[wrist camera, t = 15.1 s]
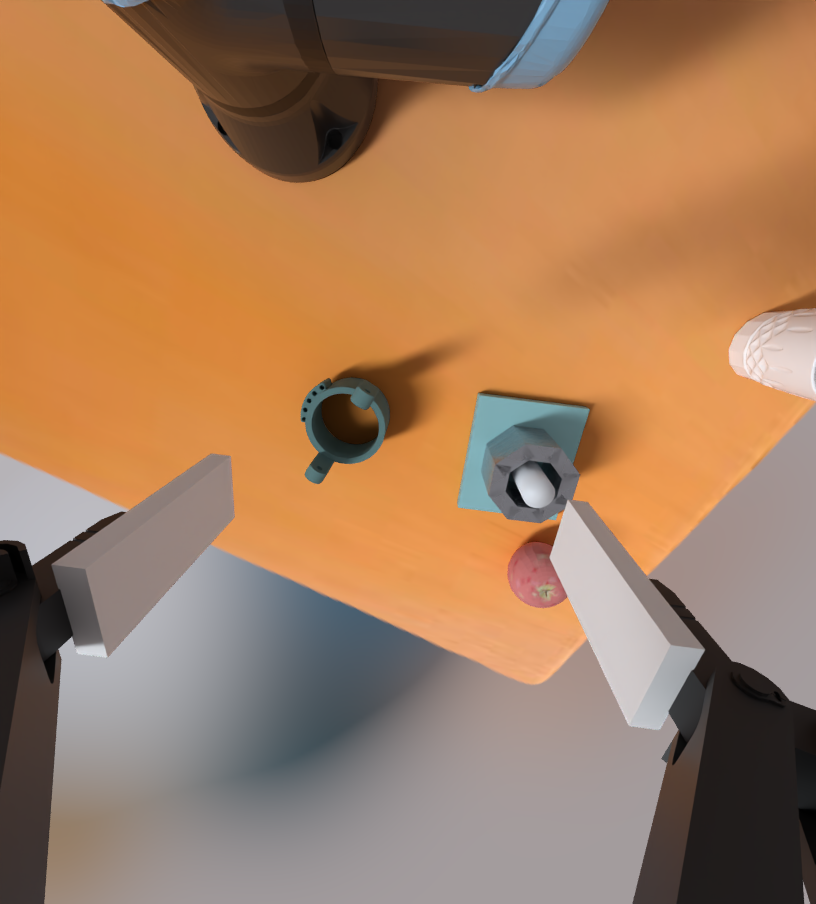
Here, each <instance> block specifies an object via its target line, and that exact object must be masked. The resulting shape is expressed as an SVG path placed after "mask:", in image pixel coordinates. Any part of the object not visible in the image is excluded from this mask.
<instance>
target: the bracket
mask: <svg viewBox="0 0 816 904" xmlns="http://www.w3.org/2000/svg"><path fill="white" fill-rule="evenodd" d="M341 393H344V394H351V395H352V396H351V402H352V403H354V404H355V405H356V406H358V407H359V408H361V409H364V410H366V409H368V408H369V407H370V406H371V407H372V409H373V410H374V412H375V414H376V416H377V418H378V423H379V434H378V437H376V438H375V439H374V440H372V441H370V442H368V443H364V444H349V443H346V442H343V441H341V440H339V439H337V438H336V437H335V436H333V435H332V434H331V433H330V432H329V430H328V429H327V427H326V426H325V424H324V421H323V418H322V410H321V409H322V403H323V400H324V399H325V398H327V397H329V396H331V395H334V394H341ZM389 420H390V409H389V405H388V402H387V399H386V398H385V396H384V394H383V393H382V392H381V390H380V389H379V388H378V387H376V386H375V385H373V384H372V383H370V382H368V381H367V380H365V379H360V378H353V377H351V378H344V379H340V380H338V381H336V382H334V383H332V382H331V379H330V378H328V379H326V380H324V381H322V382H321V383H320V384H318V385H317V386H316V387H314V388H313V389H312V390H311V391H310V392H309V393H308V395H307V396H306V398H305V400H304V402H303V405H302V409H301V421H302V422H305V425H306V431H307V435H308V437H309V439H310V442H311V443H312V445H313V446H314V447H315V449H316V450H317V451H318V452H319V453H318V454H317V456H316V457H315V458H314V460H313V461H312V462H311V464H310V465H309V467H308V469H307V470H306V472H305V477H306V478H307V479H308V480H309V481H311V482H313V483H316V484H320V483H321V482H322V481H323V480H324V478H325V476H326V475H327V473H328V472H329V470H330V468H331V466H332V465H333V463H334V461H335V462H338V463H344V464H354V463H359V462H362V461H364V460H366V459H368V458H370V457H371V456H372V455H374V454H375V453H376V452H377V450H378V449H379V448H380V446H381V444H382V442H383V439H384V436H385V433H386V430H387V427H388V424H389Z"/></svg>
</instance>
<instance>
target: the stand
mask: <svg viewBox="0 0 816 904" xmlns="http://www.w3.org/2000/svg"><path fill="white" fill-rule="evenodd" d="M589 411H590V409H589V408H587V407H585V406H577V405H570V404H562V403H554V402H546V401H538V400H530V399H523V398H515V397H507V396H499V395H491V394H483V393H478V396H477V402H476V407H475V412H474V417H473V423H472V428H471V433H470V438H469V444H468V449H467V454H466V459H465V465H464V470H463V475H462V481H461V486H460V491H459V496H458V502H457V504H458V508H466V509H474V510H482V511H489V512H497V513H502V512H501V511H500V509H499V508H498V507H497V506H496V504H495V503H494V502H493V501H492V499H491V498H490V497H489V496H488V493H487V489H486V486H485V483H484V480H483V476H482V473H481V468H482V463H483V458H484V453H485V448H486V443H488V442H489V441H491V440H492V439H494V438H495V437H496V436H498V435H499V434H501V433H502V432H504V431H505V430H507V429H508V428H510V427H511V426H522V427H530V428H538V429H544V430H545V431H546V432H547V433H548V434H549V435H550V436H551V437H552V439H553V440H554V441H555V442H556V443H557V444H558V445H559V446H560V447H561V448H562V450H563V451H564V453H565V454H566V456H567V457H568V458H569V460H570V461H571V463H572V464H573V462H574V459H575V456H576V453H577V450H578V446H579V443H580V440H581V437H582V433H583V430H584V427H585V424H586V420H587V417H588V414H589ZM542 464H543V462H538V461H530V460H528V461H527V462H525V463H524V464H522V465H521V466H519V467H518V468H516V469H515V470H513V471H512V472H510V474H509V478H508V481H511V482H515V483H516V485H517V487H518V489H519V491H520V493H521V495H522V498H523V500H524V502H525V503H526V504H527V505H528V506H530V507H533V508H542V507H545V506H547V505H548V504H550V503H551V502H552V500H553V499H554V496H555V489H554V487H553V485H552V484H551V482H550V481H549V480H548V478H547V477H546V475H545V474H544V472H543V471H542V469H541V468H542ZM557 514H558V513H557ZM557 514H555V515H554V516H552V517H550V518H549V519H551V520H556V518H557Z"/></svg>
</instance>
